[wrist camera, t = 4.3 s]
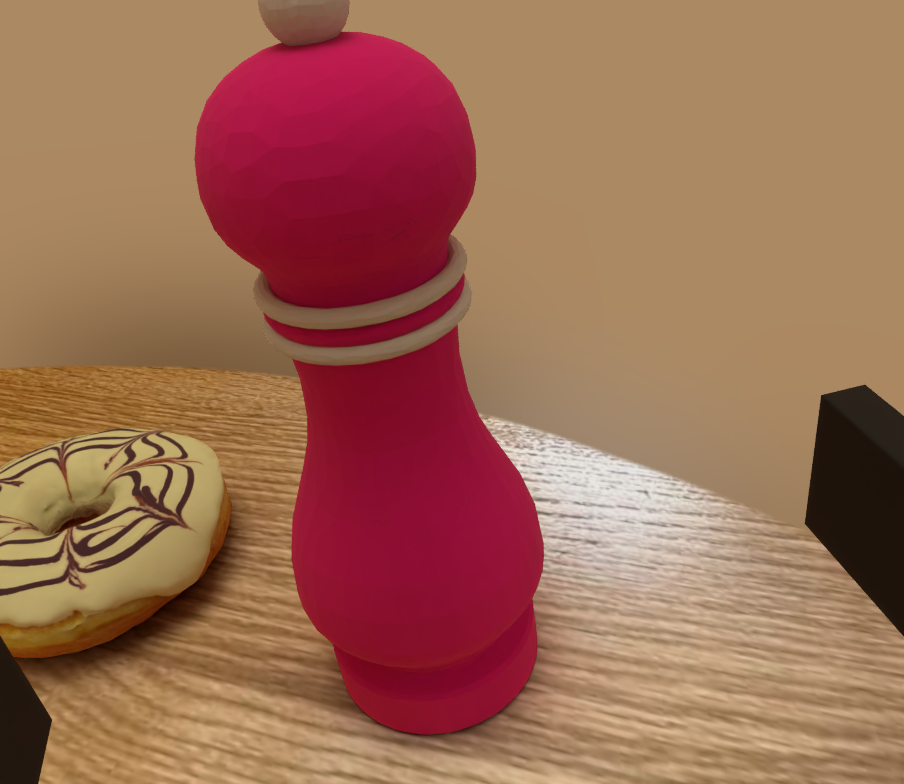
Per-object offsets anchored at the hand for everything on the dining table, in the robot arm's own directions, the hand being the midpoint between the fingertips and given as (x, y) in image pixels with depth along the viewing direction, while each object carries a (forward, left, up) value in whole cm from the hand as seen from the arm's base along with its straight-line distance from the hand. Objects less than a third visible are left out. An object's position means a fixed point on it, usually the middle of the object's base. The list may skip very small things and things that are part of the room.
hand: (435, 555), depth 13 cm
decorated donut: (+12, -17, -12) cm, 24 cm away
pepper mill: (0, -9, -12) cm, 15 cm away
